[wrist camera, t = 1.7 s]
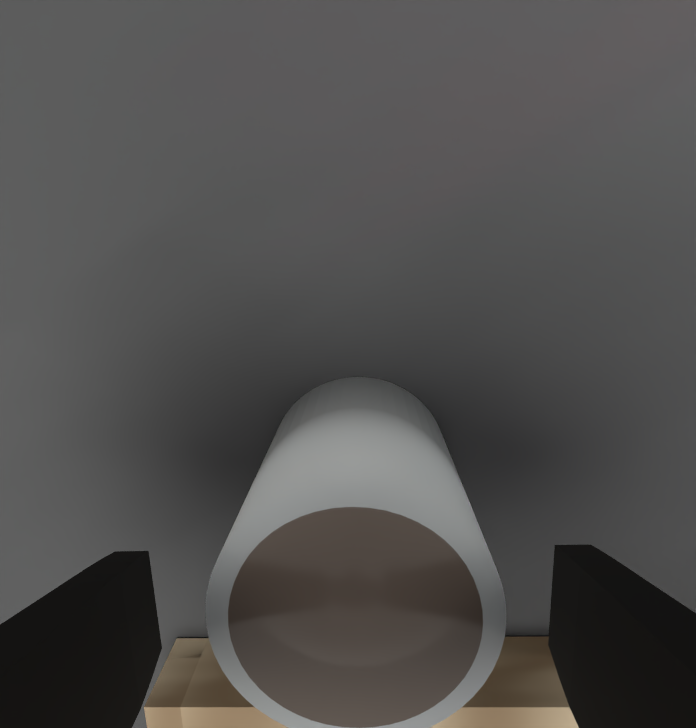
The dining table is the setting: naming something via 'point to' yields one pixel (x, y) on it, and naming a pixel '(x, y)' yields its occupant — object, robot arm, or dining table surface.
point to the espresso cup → (356, 570)
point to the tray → (469, 724)
